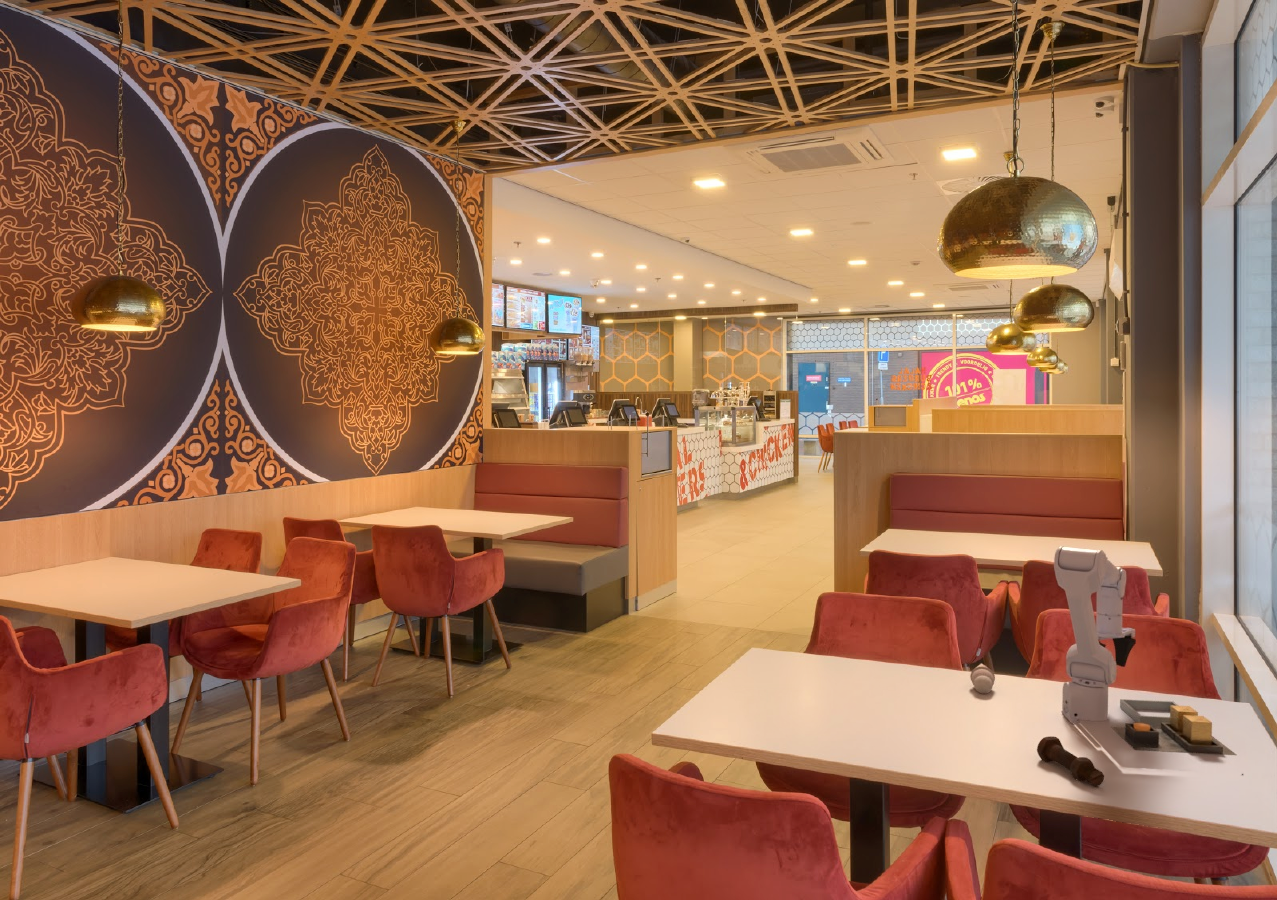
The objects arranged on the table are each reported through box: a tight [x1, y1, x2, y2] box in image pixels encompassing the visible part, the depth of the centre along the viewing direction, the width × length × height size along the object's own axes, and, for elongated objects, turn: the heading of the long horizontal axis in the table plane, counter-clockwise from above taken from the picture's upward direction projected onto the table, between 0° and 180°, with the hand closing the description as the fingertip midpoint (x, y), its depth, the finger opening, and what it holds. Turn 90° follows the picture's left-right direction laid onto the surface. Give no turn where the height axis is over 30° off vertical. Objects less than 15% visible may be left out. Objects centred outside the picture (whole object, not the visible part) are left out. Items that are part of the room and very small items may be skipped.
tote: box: [1119, 698, 1180, 727], centre depth 207 cm, size 12×12×3 cm
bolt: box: [1036, 736, 1105, 787], centre depth 179 cm, size 6×5×15 cm
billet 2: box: [1183, 715, 1213, 745], centre depth 189 cm, size 4×4×6 cm
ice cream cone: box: [969, 663, 996, 695], centre depth 234 cm, size 6×6×15 cm
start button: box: [1134, 722, 1150, 731], centre depth 194 cm, size 3×3×2 cm
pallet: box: [1110, 722, 1237, 756], centre depth 193 cm, size 20×14×4 cm
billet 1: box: [1169, 705, 1199, 733], centre depth 196 cm, size 4×4×6 cm
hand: (1108, 667), depth 219 cm, fingers open, 7 cm apart
